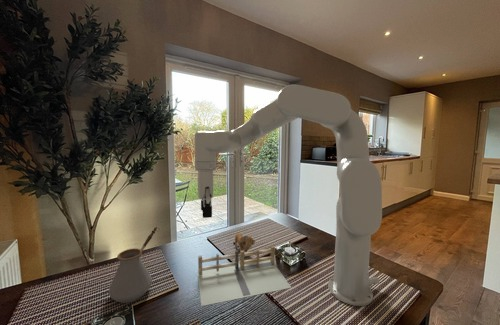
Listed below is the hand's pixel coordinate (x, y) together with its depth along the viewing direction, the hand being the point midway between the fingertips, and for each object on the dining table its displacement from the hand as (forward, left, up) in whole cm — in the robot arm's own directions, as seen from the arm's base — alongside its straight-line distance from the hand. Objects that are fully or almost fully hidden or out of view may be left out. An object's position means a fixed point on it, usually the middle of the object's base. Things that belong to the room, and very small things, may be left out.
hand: (206, 213), depth 79 cm
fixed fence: (-18, +7, -19) cm, 27 cm away
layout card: (-11, +12, -20) cm, 26 cm away
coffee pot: (+21, +5, -20) cm, 30 cm away
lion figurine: (-15, -5, -20) cm, 26 cm away
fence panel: (-4, +7, -19) cm, 21 cm away
